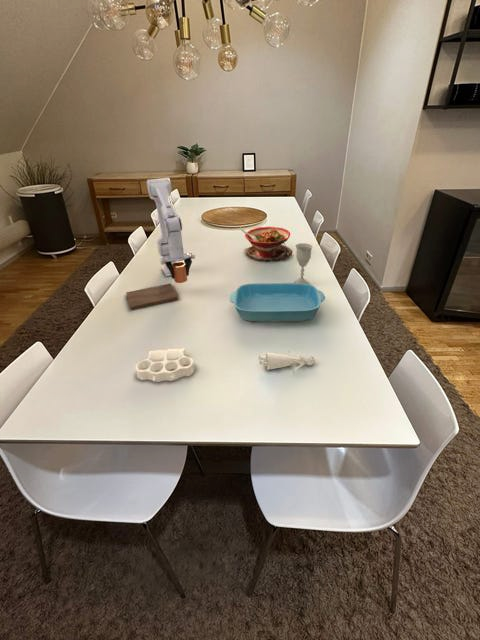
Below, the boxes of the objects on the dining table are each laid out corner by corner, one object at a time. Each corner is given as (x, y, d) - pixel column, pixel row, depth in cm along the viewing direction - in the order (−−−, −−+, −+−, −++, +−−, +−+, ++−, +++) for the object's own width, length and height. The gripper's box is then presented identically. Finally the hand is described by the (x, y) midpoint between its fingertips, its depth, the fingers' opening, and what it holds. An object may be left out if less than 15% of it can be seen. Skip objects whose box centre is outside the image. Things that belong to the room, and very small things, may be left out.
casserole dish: (227, 325, 130) (226, 309, 126) (232, 297, 149) (232, 282, 145) (326, 326, 128) (328, 310, 124) (319, 297, 146) (320, 282, 142)
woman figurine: (257, 343, 113) (312, 343, 114) (256, 354, 115) (310, 354, 116) (261, 367, 103) (320, 367, 104) (260, 378, 105) (318, 378, 106)
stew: (233, 260, 182) (231, 230, 174) (249, 244, 201) (248, 217, 192) (284, 267, 173) (285, 236, 164) (296, 249, 191) (297, 221, 183)
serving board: (126, 295, 154) (126, 292, 153) (171, 286, 160) (170, 283, 159) (130, 310, 143) (130, 306, 142) (178, 299, 149) (177, 296, 148)
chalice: (311, 282, 158) (314, 244, 148) (307, 288, 153) (310, 250, 143) (295, 279, 161) (298, 242, 151) (291, 285, 156) (293, 247, 146)
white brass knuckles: (195, 352, 117) (194, 382, 105) (141, 356, 116) (134, 387, 104) (194, 344, 115) (192, 374, 103) (139, 348, 114) (132, 379, 102)
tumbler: (173, 278, 153) (170, 263, 148) (185, 276, 154) (183, 260, 150) (175, 284, 148) (173, 268, 144) (188, 281, 150) (186, 265, 146)
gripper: (160, 252, 137) (165, 283, 145) (195, 246, 142) (198, 276, 149) (157, 247, 143) (162, 276, 150) (190, 241, 147) (194, 270, 155)
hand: (180, 276), depth 150 cm, fingers closed on tumbler, 6 cm apart
